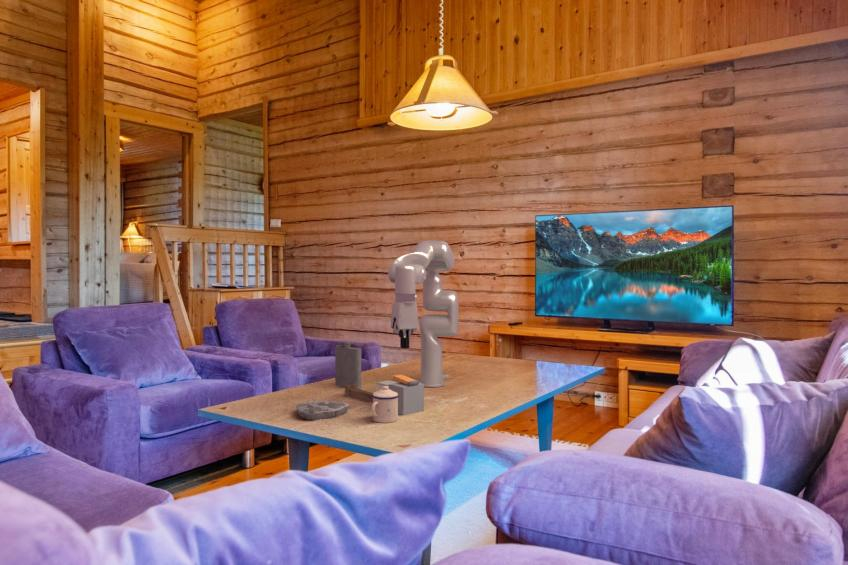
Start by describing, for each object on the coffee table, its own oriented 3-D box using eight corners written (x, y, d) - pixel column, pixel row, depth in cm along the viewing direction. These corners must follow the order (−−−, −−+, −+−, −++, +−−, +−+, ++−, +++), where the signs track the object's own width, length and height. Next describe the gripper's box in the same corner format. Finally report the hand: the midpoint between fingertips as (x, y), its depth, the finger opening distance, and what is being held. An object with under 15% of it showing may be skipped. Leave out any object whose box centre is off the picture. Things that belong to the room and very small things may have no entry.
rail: (354, 394, 244) (354, 383, 244) (403, 407, 223) (403, 395, 223) (344, 396, 241) (344, 385, 241) (393, 409, 219) (393, 397, 219)
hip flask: (362, 389, 255) (362, 342, 254) (355, 390, 252) (355, 343, 251) (339, 383, 266) (339, 339, 265) (332, 384, 263) (332, 340, 262)
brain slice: (324, 406, 225) (324, 398, 225) (356, 413, 215) (356, 405, 215) (282, 416, 210) (282, 407, 210) (314, 424, 200) (314, 415, 199)
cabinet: (408, 406, 224) (408, 380, 224) (423, 410, 218) (423, 383, 218) (388, 411, 218) (388, 384, 217) (403, 415, 212) (403, 387, 211)
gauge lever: (401, 377, 223) (401, 373, 223) (418, 385, 216) (419, 380, 216) (392, 379, 220) (392, 375, 220) (410, 386, 213) (410, 382, 213)
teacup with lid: (382, 415, 212) (382, 382, 211) (403, 418, 207) (403, 385, 206) (361, 422, 202) (361, 388, 201) (383, 426, 197) (383, 391, 196)
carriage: (388, 400, 230) (388, 380, 229) (398, 403, 225) (399, 382, 225) (376, 403, 226) (376, 382, 225) (387, 405, 221) (387, 384, 221)
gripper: (413, 297, 226) (412, 345, 226) (383, 298, 215) (382, 348, 216) (426, 298, 220) (426, 347, 221) (396, 299, 210) (396, 351, 211)
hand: (404, 348), depth 219 cm, fingers closed
